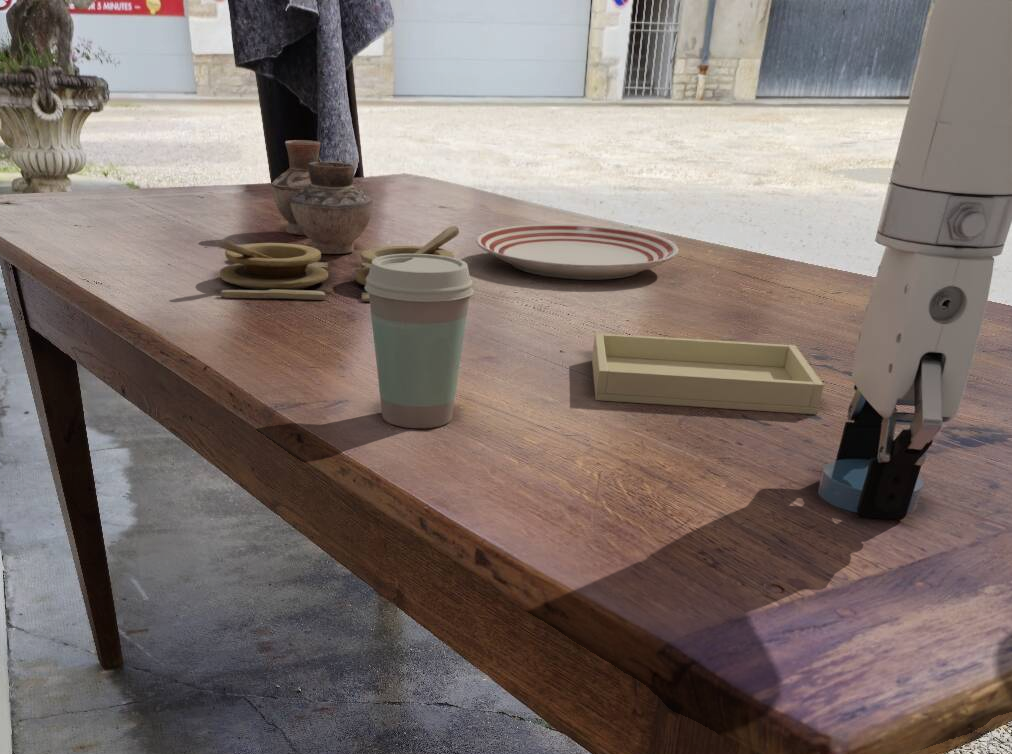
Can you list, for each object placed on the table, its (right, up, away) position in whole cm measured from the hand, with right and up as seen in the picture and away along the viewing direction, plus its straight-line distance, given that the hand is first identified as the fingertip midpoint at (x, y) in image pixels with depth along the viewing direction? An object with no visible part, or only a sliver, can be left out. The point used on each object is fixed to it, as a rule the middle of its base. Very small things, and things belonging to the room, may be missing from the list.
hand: (867, 494), depth 75 cm
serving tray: (-7, +16, +24) cm, 29 cm away
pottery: (-49, +55, +77) cm, 107 cm away
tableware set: (-43, +39, +54) cm, 80 cm away
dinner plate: (-13, +48, +69) cm, 85 cm away
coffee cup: (-33, +9, +13) cm, 36 cm away
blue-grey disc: (0, -1, 0) cm, 1 cm away
